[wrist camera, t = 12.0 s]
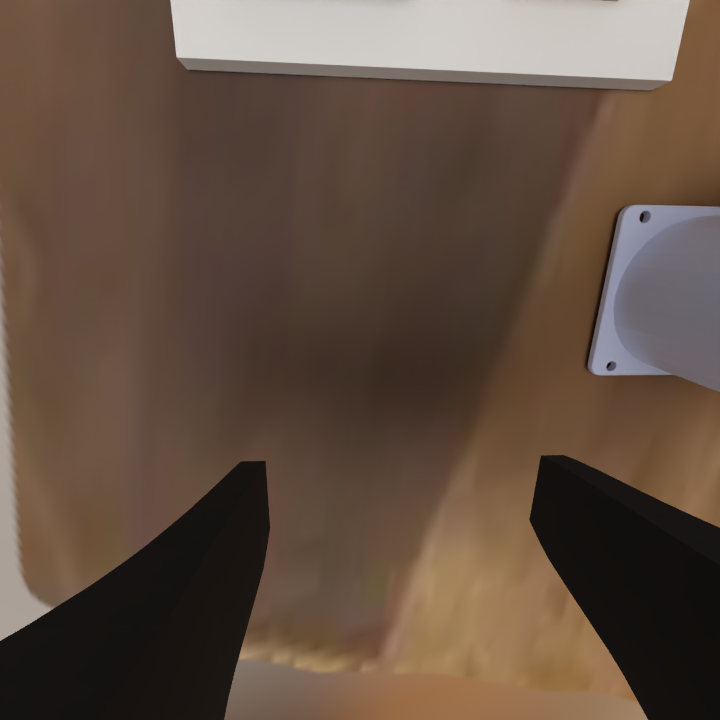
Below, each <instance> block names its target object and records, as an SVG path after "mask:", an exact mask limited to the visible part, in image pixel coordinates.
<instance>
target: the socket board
mask: <svg viewBox="0 0 720 720" xmlns="http://www.w3.org/2000/svg"><path fill="white" fill-rule="evenodd" d="M689 1H690V0H171V9H172V18H173V28H174V37H175V46H176V55H177V58H178V60H179V61H180V62H181V63H182V64H183V65H184V67H185V68H186V69H187V70H205V71H227V72H250V73H272V74H294V75H316V76H338V77H360V78H382V79H404V80H426V81H448V82H470V83H492V84H515V85H537V86H559V87H581V88H603V89H625V90H647V91H652V90H654V89H656V88H658V87H660V86H662V85H664V84H666V83H668V82H670V81H672V77H673V72H674V68H675V63H676V59H677V55H678V50H679V46H680V41H681V37H682V32H683V28H684V23H685V19H686V14H687V10H688V5H689Z"/></svg>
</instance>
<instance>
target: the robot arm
mask: <svg viewBox="0 0 720 720" xmlns="http://www.w3.org/2000/svg"><path fill="white" fill-rule="evenodd" d="M641 213H643V214H644V218H643V221H642V222H640V220H639V217H640V214H641ZM609 362H611V365H610V366H609V367H608V368H606V366H607V364H608V363H609ZM588 369H589V371H590V372H592V373H593V374H595V375H676V376H679V377H681V378H684V379H686V380H689V381H692V382H694V383H697V384H699V385H702V386H705V387H707V388H710V389H712V390H715V391H718V392H720V207H709V206H668V205H630V206H626V207H625V208H623V209H622V210H621V212H620V213H619V216H618V220H617V225H616V230H615V234H614V239H613V244H612V249H611V254H610V259H609V264H608V268H607V273H606V278H605V283H604V288H603V293H602V298H601V302H600V307H599V312H598V317H597V322H596V327H595V332H594V336H593V341H592V346H591V351H590V356H589V361H588ZM530 522H531V524H532V527H533V529H534V531H535V533H536V535H537V537H538V539H539V541H540V543H541V545H542V547H543V549H544V551H545V553H546V555H547V557H548V559H549V560H550V562H551V563H552V565H553V567H554V568H555V570H556V571H557V573H558V574H559V576H560V577H561V579H562V580H563V582H564V584H565V585H566V587H567V588H568V590H569V591H570V593H571V594H572V596H573V597H574V599H575V600H576V602H577V603H578V605H579V606H580V608H581V609H582V611H583V612H584V614H585V615H586V617H587V618H588V620H589V621H590V623H591V624H592V626H593V628H594V629H595V631H596V632H597V634H598V635H599V637H600V638H601V640H602V641H603V643H604V644H605V646H606V647H607V649H608V650H609V652H610V653H611V655H612V657H613V658H614V660H615V662H616V663H617V665H618V666H619V668H620V670H621V671H622V673H623V675H624V676H625V678H626V680H627V682H628V684H629V686H630V687H631V689H632V691H633V693H634V695H635V696H636V698H637V700H638V702H639V704H640V706H641V707H642V709H643V711H644V713H645V715H646V716H647V718H648V720H720V528H719V527H717V526H714V525H712V524H710V523H708V522H705V521H703V520H701V519H699V518H697V517H694V516H692V515H690V514H688V513H685V512H683V511H681V510H679V509H677V508H675V507H673V506H670V505H668V504H666V503H664V502H662V501H660V500H658V499H656V498H654V497H652V496H650V495H648V494H645V493H643V492H641V491H639V490H637V489H635V488H633V487H631V486H629V485H627V484H625V483H623V482H621V481H619V480H617V479H615V478H613V477H611V476H609V475H607V474H605V473H603V472H601V471H599V470H597V469H594V468H592V467H590V466H588V465H586V464H584V463H581V462H579V461H577V460H575V459H572V458H570V457H567V456H564V455H548V456H541V459H540V464H539V470H538V476H537V481H536V487H535V492H534V498H533V503H532V509H531V514H530ZM269 531H270V521H269V507H268V492H267V477H266V462H265V461H247V462H240V463H239V464H238V465H237V466H236V467H235V468H234V469H232V470H231V471H230V472H229V473H228V474H227V475H226V476H225V477H224V478H223V479H222V480H221V481H220V482H219V483H218V484H217V485H216V486H215V487H213V488H212V489H211V490H210V491H209V492H208V493H207V494H206V495H205V496H204V497H203V498H202V499H201V500H199V501H198V502H197V503H196V504H195V505H194V506H193V507H192V508H191V509H190V510H188V511H187V512H186V513H185V514H184V515H183V516H181V517H180V518H179V519H178V520H177V521H175V522H174V523H173V524H172V525H171V526H169V527H168V528H167V529H166V530H165V531H163V532H162V533H161V534H160V535H159V536H157V537H156V538H155V539H154V540H153V541H151V542H150V543H149V544H148V545H146V546H145V547H144V548H142V549H141V550H140V551H138V552H137V553H136V554H134V555H133V556H132V557H130V558H129V559H128V560H126V561H125V562H124V563H122V564H121V565H119V566H118V567H116V568H115V569H114V570H112V571H111V572H109V573H108V574H107V575H105V576H104V577H102V578H101V579H99V580H98V581H96V582H95V583H94V584H92V585H91V586H89V587H88V588H86V589H84V590H83V591H81V592H80V593H78V594H76V595H75V596H73V597H72V598H70V599H68V600H67V601H65V602H64V603H62V604H61V605H59V606H57V607H56V608H54V609H53V610H51V611H49V612H48V613H46V614H45V615H43V616H41V617H40V618H38V619H37V620H35V621H34V622H32V623H30V624H29V625H27V626H25V627H24V628H22V629H20V630H19V631H17V632H15V633H13V634H12V635H10V636H8V637H6V638H5V639H3V640H1V641H0V720H224V717H225V712H226V706H227V701H228V697H229V692H230V689H231V684H232V680H233V676H234V672H235V668H236V665H237V661H238V658H239V654H240V651H241V647H242V643H243V640H244V636H245V633H246V629H247V626H248V622H249V619H250V615H251V612H252V608H253V604H254V601H255V597H256V594H257V590H258V586H259V583H260V579H261V575H262V572H263V568H264V562H265V556H266V550H267V544H268V537H269Z"/></svg>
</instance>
